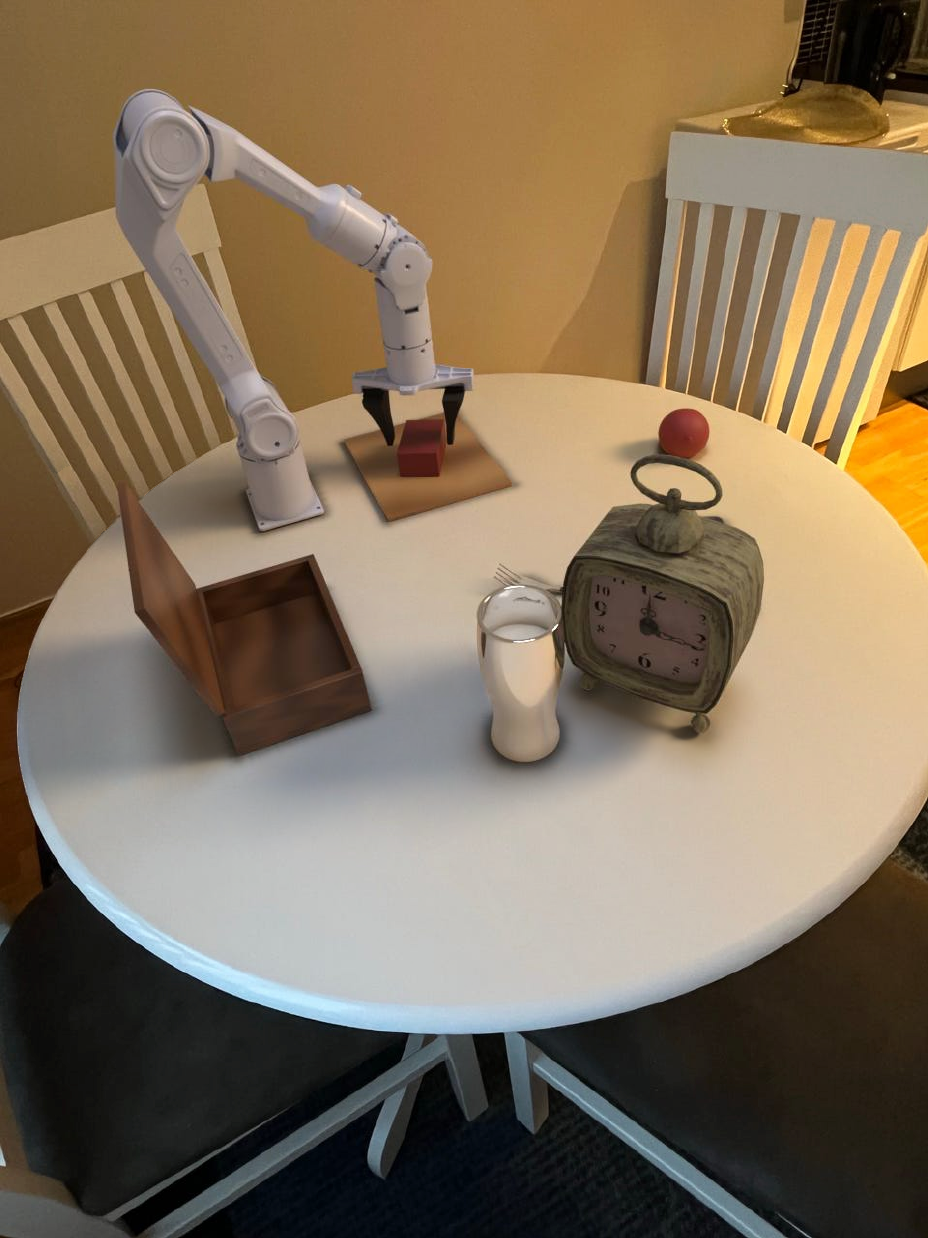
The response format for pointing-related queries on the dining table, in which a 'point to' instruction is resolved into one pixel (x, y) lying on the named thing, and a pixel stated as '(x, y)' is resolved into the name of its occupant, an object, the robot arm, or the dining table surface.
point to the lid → (167, 599)
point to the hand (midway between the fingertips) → (421, 441)
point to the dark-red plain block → (422, 448)
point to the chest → (280, 654)
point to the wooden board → (404, 496)
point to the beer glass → (522, 668)
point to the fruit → (683, 433)
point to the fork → (524, 580)
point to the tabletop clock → (663, 599)
